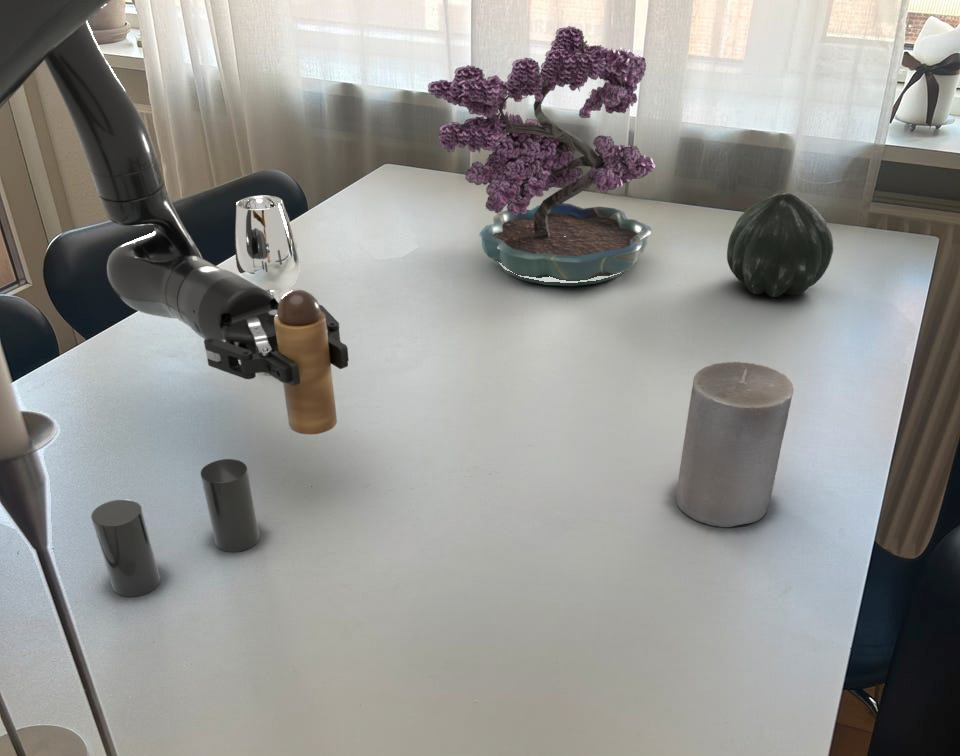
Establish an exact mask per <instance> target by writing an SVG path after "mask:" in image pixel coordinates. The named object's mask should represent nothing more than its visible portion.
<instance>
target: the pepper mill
mask: <svg viewBox="0 0 960 756" xmlns="http://www.w3.org/2000/svg"><path fill="white" fill-rule="evenodd" d="M278 303H279V304H278V308H277V315H276V316H275V318H274V324H275V331H276V338H277V345H278V352H280V353H281V354H283V355H285V356H286V357H288V358H290V359H291V360H293V361H294V362H296V363H297V365H298V368H299V375H300V384H298V385H295V386H291V385H290V384H288V383H284V382H282V386H283V391H284V393H283V394H284V401H285V406H286V412H287V419H288V420H287V421H288V426H289V428H290V430H292V431H294V432H295V433H297V434H302V435H320V434H323V433H327V432H328V431H331V430H332V429H333V428H334V427H335V426H336V425H337V424H338V423H337V422H338V418H337V410H336V401H335V391H334V389H335V388H334V381H333V372H332V364H331V362H330V353H329V343H328V334H327V325H326V316H325V314H324V313H323V312H322V311H321V310H320V306H319V305H320V304H319V301H318V299H317V298H316V297H315V296H314V295H313V294H312V293H310V292H308V291H306V290H303V289H292V290H290V291H289V290H288V291H287V292H286V293H284V294H283V295H282V296H281V297H280V300H278Z"/></svg>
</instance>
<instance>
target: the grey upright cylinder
mask: <svg viewBox="0 0 960 756" xmlns="http://www.w3.org/2000/svg"><path fill="white" fill-rule="evenodd" d="M200 479H201V484H202V487H203V492H204V498H205V502H206V506H207V511H208V515H209V520H210V524H211V531H212V533H213V538H214V543H215V545H216V547H217V548H218V549H220V550H222V551H224V552H227V553H237V552H238V553H239V552H243V551H248V550H249V549H251V548H253V547H255V546H256V545H257V544H258V542H259V540H260V532H259V525H258V520H257V515H256V510H255V509H256V508H255V504H254V499H253V494H252V489H251V488H252V487H251V481H250V476H249V471H248V467H247V464H245V463H244V462H243V461H241V460H238V459H233V458H232V459H231V458H226V459H225V458H224V459H218V460H214V461H212V462H210V463H207V464H205V465H204V466H203V467H202V468H201V471H200Z"/></svg>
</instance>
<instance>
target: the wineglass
mask: <svg viewBox="0 0 960 756" xmlns="http://www.w3.org/2000/svg"><path fill="white" fill-rule="evenodd" d="M235 205H236V206H235V223H234V225H235V227H234V251H235V263H236V268H237V272H238V276H240V277H242V278H244V279H246V280H247V281H249V282H251V283H253V284H255V285H256V286H258V287H260V288H262V289H264V290H266V291H267V292H269V293H270V294H271V295H272V296H273V297H274V298H275V299H276V300H277V302H278V303H279V297H282V296H284V295H285V294H286V293H287V292H289V290H291V288H292V287H293V286H294V285H295V284H296V281H297V279H298V278H299V276H300V275H299V274H300V270H301V259H300V255H299V249H298V243H297V241H296V237H295V234H294V231H293V228H292V224H291V221H290V217H289V215H288V212H287V210H286V207H285V204H284V201H283V199H282V198H280V197H278V196H275V195H274V196H273V195H253V196H247V197H245V198H242V199H240V200H238V201H237V202H236V204H235Z"/></svg>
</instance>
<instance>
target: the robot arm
mask: <svg viewBox="0 0 960 756" xmlns="http://www.w3.org/2000/svg"><path fill="white" fill-rule="evenodd" d="M110 2H111V0H0V110H1V109H2V108H3V107H4V105H5V104H7V102H8V101H10V99H11V98H12V97H13V96H14V95H15V94H16V92H18V90H20V88H21V87H22V86H23V85H24V84H25V83H26V81H27V80H28V79H29V78H30V77H31V76H32V75H33V73H34V72H35V71H36V70H37V69H38V68H39V66H40V65H42V63H43V62H44V63H45V65H46V67H47V69H48V71H49V73H50V75H51V77H52V80H53V81H54V83H55V86H56V88H57V90H58V92H59V94H60V96H61V98H62V100H63V103H64V105H65V107H66V109H67V112H68V114H69V117H70V118H71V122H72V124H73V126H74V129H75V131H76V134H77V137H78V139H79V142H80V145H81V148H82V150H83V154H84V157H85V160H86V162H87V166H88V169H89V171H90V174H91V177H92V180H93V183H94V186H95V190H96V192H97V195H98V198H99V201H100V205H101V207H102V210H103V211H104V213H105V215H106V217H107V218H108V219H109V220H110V221H111V222H113V223H114V224H115V225H120V226H123V227H125V226H126V227H137V226H146V225H147V226H148V225H152V226H153V232H152V233H149V234H147V235H144V236H141V237H139V238H136V239H134V240H131V241H129V242H125V243H123V244H122V245H119V246H118V247H116V248H115V249H113V250H112V252H111V253H110V254H109V256H108V258H107V261H106V276H107V280H108V282H109V285H110V287H111V288H112V290H113V291H114V293H115V294H116V296H117V297H118V298H119V300H121V301H122V302H124V304H126V305H127V306H129V307H130V308H132V309H133V310H135V311H137V312H140V313H142V314H146V315H150V316H155V317H161V318H167V319H177V320H178V321H180V322H181V323H183V324H185V326H187V327H189V328H190V329H191V330H193V332H194V333H195V334H196V335H198V336H199V337H201V338H202V339H203V345H204V350H205V354H206V360H207V365H208V366H209V367H211V368H214V369H217V370H219V371H222V372H225V373H228V374H231V375H233V376H235V377H239V378H242V379H244V380H252V379H255V378H256V374H260V373H262V375H263V376H266V377H270V376H271V377H273V378H274V379H276V380H278V381H279V382H281V383H283V382H284V383H288V384H290V385H291V386H295V385H298V384H300V375H299V368H298V365H297V363H296V362H294V361H293V360H291V359H290V358H288V357H286V356H285V355H283V354H281V353H280V352H278V345H277V338H276V331H275V324H274V318H275V316H276V315H277V308H278V304H279V301H278V302H277V300H276V299H275V298H274V297H273V296H272V295H271V294H270V293H269V292H267V291H266V290H264V289H262V288H260V287H258V286H256V285H255V284H253V283H251V282H249V281H247V280H246V279H244V278H242V277H240V275H239V274H236V273H235V272H232V271H229V270H227V269H223V268H221V267H218V266H217V265H215V264H213V263H211V262H209V261H208V260H206V259H205V258H203V256H202V253H201V251H200V250H199V248H198V246H197V244H196V242H195V241H194V239H193V237H192V236H191V234H190V232H189V231H188V230H187V228H186V227H185V225H184V223H183V221H182V219H181V218H180V215H179V214H178V212H177V210H176V207H175V206H174V204H173V202H172V200H171V197H170V195H169V194H168V191H167V188H166V184H165V181H164V178H163V173H162V170H161V166H160V163H159V159H158V156H157V152H156V150H155V146H154V143H153V140H152V137H151V134H150V132H149V130H148V128H147V125H146V123H145V121H144V119H143V117H142V116H141V114H140V112H139V110H138V109H137V107H136V105H135V104H134V102H133V100H132V99H131V97H130V95H129V94H128V93H127V91H126V90H125V88H124V87H123V85H122V84H121V82H120V80H119V79H118V78H117V76H116V74H115V73H114V71H113V69H112V68H111V66H110V65H109V63H108V61H107V60H106V58H105V57H104V54H103V52H102V50H101V49H100V46H99V45H98V43H97V41H96V39H95V37H94V35H93V31H92V29H91V27H90V25H89V23H88V21H89V20H91V18H93V17H94V16H95V15H96V14H97V13H98V12H100V11H102V9H103V8H105V6H106V5H107V4H108V3H110ZM319 306H320V310H321V311H322V312H323V313H324V314H325V316H326V325H327V334H328V343H329V353H330V362H331V366H332V365H333V366H334V367H336V368H338V369H339V370H343V369H345V368H348V366H349V361H350V360H349V349H348V346H347V345H346V344H345V343H343V342H342V341H341V333H340V323H339V321H337V320H336V318H335V317H334V316H333V315H332V314H331V313H330V312H329V311H328V310H327V308H325V307H324V306H323V305H322V304H319ZM239 361H240V362H239Z"/></svg>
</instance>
